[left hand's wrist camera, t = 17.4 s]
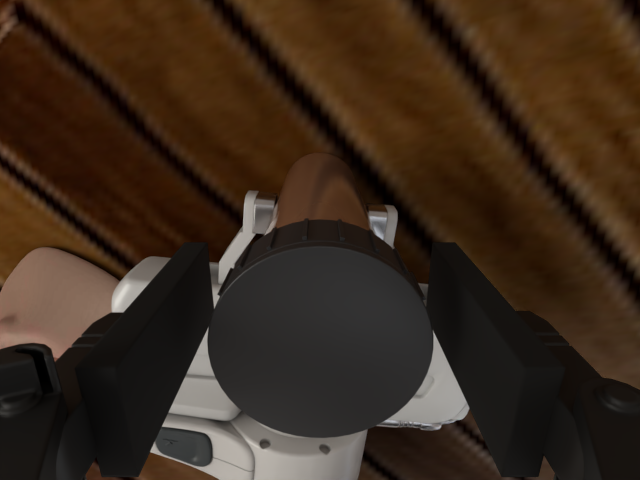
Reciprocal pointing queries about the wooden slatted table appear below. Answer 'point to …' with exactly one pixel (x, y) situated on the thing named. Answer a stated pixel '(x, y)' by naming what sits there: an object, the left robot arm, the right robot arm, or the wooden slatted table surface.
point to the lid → (320, 330)
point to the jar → (320, 194)
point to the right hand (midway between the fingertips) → (321, 200)
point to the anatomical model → (53, 299)
